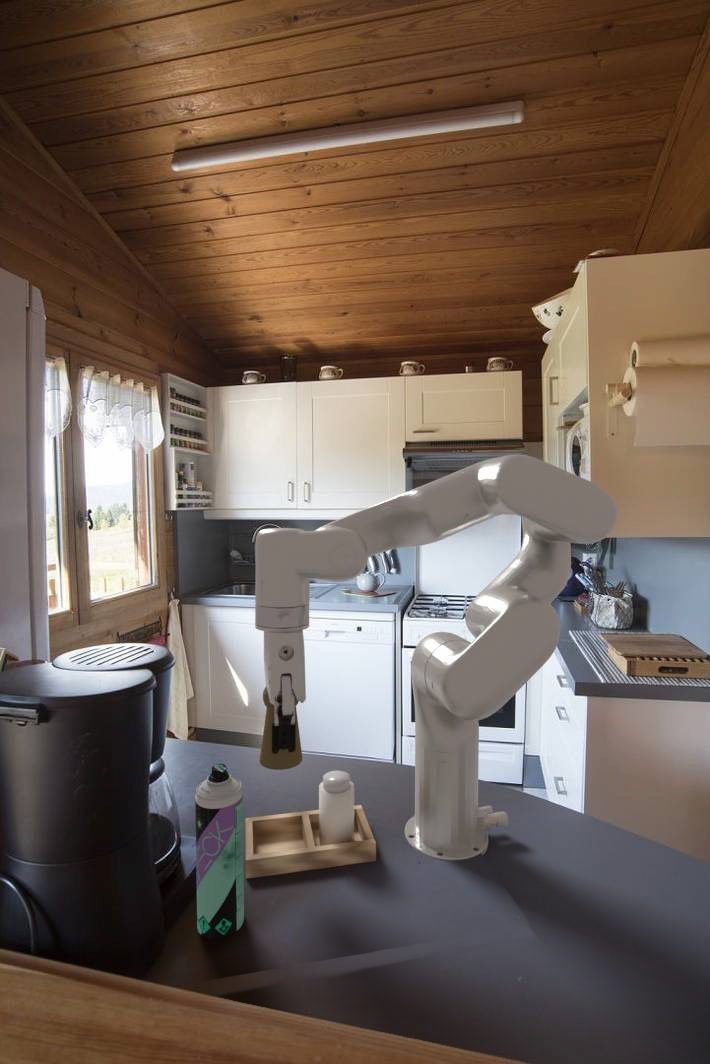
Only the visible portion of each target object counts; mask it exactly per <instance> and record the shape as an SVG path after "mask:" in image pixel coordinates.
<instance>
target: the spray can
mask: <svg viewBox="0 0 710 1064" xmlns="http://www.w3.org/2000/svg"><path fill="white" fill-rule="evenodd" d="M242 785H243V784H242V781H241V780H240V779H239V778H237V777H236V776H235V777H234V776H232V775H231V773H229V772H228V770H227V765H226V764H224V763H217V764H214V765H212V767H211V773H210V774H209V775H208V776H207V777H206V779H205V780H202V781H201V782H200V783H199V784H198V785H197V786H196V788H195V795H194V797H195V799H194V800H195V801H194V803H195V804H194V806H195V807H194V808H195V809H194V810H195V856H196V857H195V858H196V859H195V860H196V861H195V865H196V867H195V869H196V871H195V872H196V874H195V875H196V918H197V919H196V925H197V926H196V928H197V932H198V933H199V935H200V936H202V937H203V938H205V939H209V940H222V939H225V938H226V939H227V938H228V937H231V936H233V935H234V934H236V933H237V932H238V931H239V930H240V929H241V927H242V925H243V924H244V920H245V890H244V889H245V887H244V886H245V884H244V882H245V881H244V876H245V875H244V808H243V807H244V804H243V803H244V800H243V799H244V798H243V796H244V795H243V790H244V789H243V788H242V787H243V786H242Z"/></svg>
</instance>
